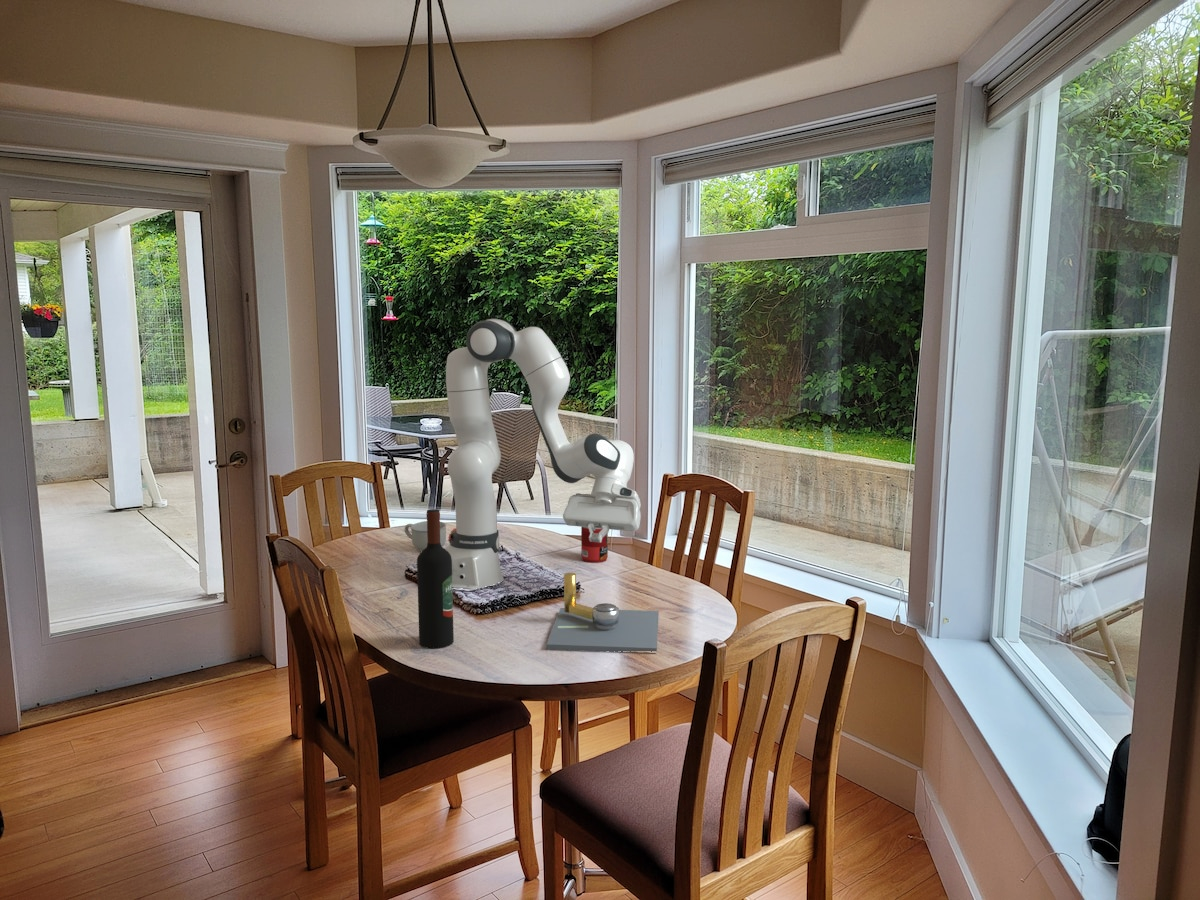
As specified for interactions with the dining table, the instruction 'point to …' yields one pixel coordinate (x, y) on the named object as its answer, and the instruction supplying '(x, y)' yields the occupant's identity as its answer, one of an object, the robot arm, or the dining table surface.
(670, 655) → the dining table surface
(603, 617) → the door handle
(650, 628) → the base
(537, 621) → the dining table surface
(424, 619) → the wine bottle
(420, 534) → the teacup
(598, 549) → the canned food
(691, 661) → the dining table surface
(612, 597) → the dining table surface
